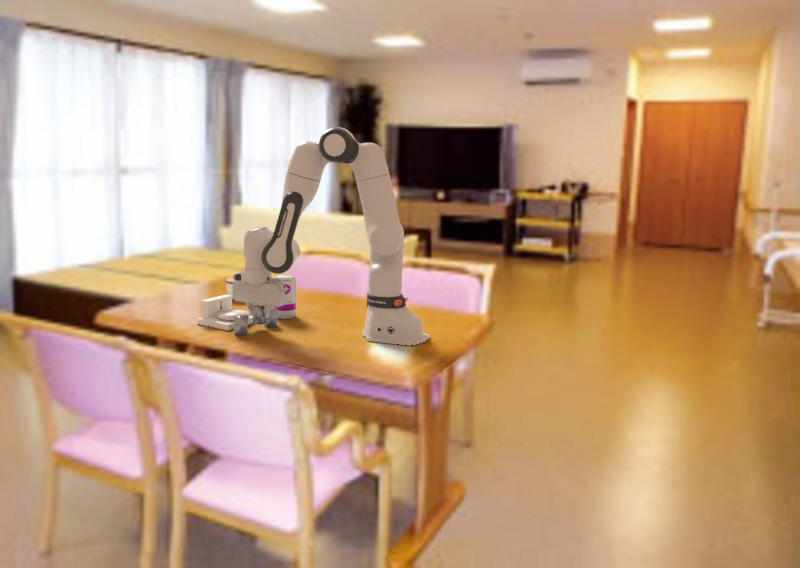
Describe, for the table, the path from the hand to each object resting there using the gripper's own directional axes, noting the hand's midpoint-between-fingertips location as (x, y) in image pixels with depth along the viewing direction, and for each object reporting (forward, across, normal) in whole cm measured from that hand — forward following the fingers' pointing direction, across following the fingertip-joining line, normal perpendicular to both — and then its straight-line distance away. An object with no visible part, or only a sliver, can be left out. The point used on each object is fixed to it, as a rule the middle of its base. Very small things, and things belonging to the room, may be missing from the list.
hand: (259, 316), depth 234 cm
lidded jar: (+4, +38, -32) cm, 50 cm away
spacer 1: (+4, +2, +7) cm, 9 cm away
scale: (+4, +15, -1) cm, 15 cm away
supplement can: (+5, +5, -19) cm, 20 cm away
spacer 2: (+2, 0, 0) cm, 2 cm away
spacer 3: (+5, +1, -7) cm, 8 cm away
